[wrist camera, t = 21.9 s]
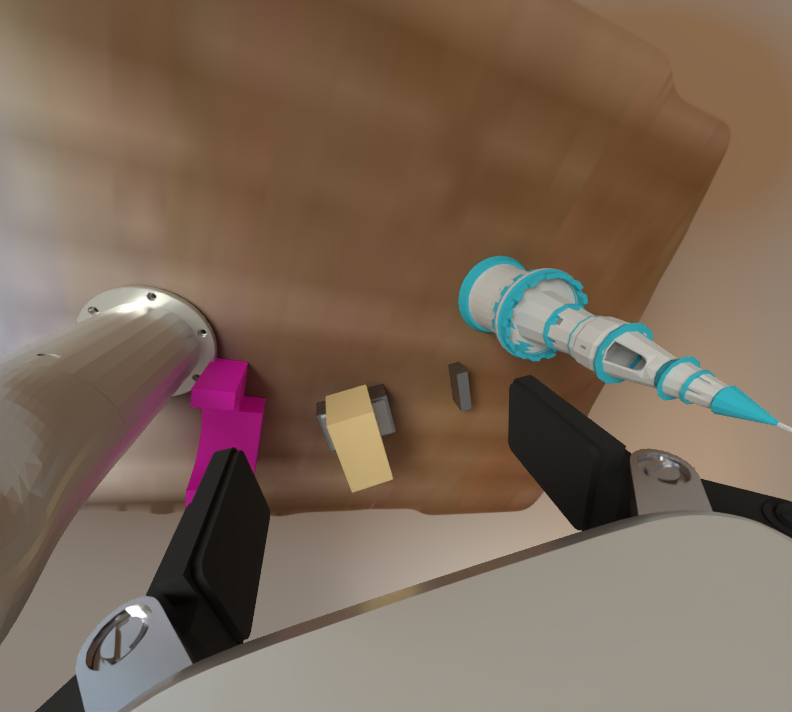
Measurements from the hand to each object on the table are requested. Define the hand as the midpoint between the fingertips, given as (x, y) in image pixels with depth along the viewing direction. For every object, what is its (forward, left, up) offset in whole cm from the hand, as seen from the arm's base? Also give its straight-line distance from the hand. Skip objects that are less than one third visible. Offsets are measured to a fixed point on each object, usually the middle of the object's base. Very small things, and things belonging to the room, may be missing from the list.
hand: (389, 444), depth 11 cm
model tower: (+19, -6, -28) cm, 35 cm away
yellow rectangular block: (-3, -17, -25) cm, 30 cm away
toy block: (-17, -12, -28) cm, 35 cm away
